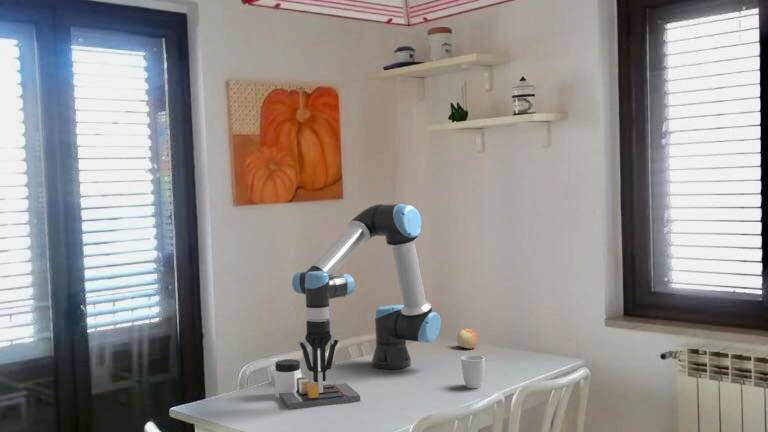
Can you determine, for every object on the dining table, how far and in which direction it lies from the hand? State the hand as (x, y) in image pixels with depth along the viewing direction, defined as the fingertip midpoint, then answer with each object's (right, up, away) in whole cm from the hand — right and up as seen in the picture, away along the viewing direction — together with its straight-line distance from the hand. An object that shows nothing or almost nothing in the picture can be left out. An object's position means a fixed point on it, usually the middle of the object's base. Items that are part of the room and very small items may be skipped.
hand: (319, 391), depth 264 cm
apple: (+56, +1, +79) cm, 97 cm away
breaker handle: (-2, -2, 0) cm, 3 cm away
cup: (+52, -2, +18) cm, 55 cm away
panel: (-1, -4, +6) cm, 7 cm away
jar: (-11, -4, +11) cm, 17 cm away
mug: (-4, -3, +29) cm, 30 cm away
